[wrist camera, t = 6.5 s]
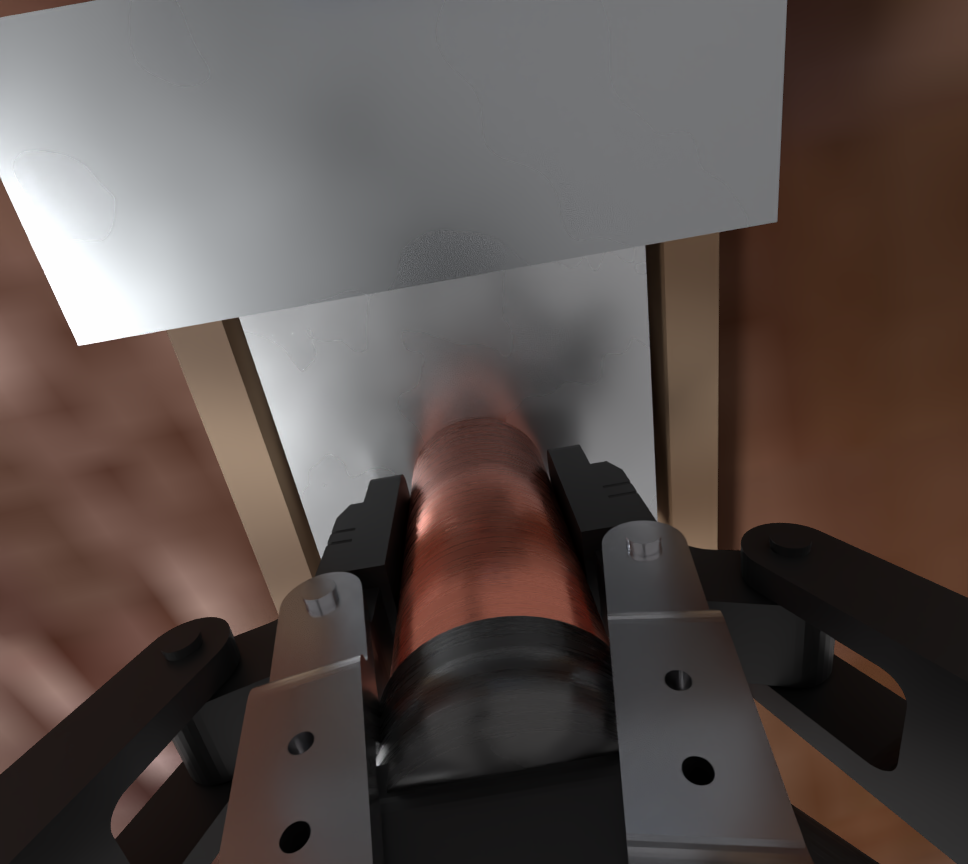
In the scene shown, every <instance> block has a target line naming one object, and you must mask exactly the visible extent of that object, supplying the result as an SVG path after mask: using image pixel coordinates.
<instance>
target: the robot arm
mask: <svg viewBox="0 0 968 864" xmlns="http://www.w3.org/2000/svg"><path fill="white" fill-rule="evenodd" d="M547 460H548V468H549V475H550V482H551V484H552V487H553V490H554V493H555V495H556V498H557V501H558V503H559V506H560V509H561V512H562V514H563V517H564V520H565V522H566V525H567V528H568V531H569V533H570V536H571V539H572V541H573V544H574V547H575V549H576V552H577V555H578V558H579V560H580V563H581V566H582V568H583V571H584V574H585V577H586V579H587V582H588V585H589V587H590V590H591V593H592V596H593V598H594V601H595V604H596V606H597V609H598V612H599V615H600V617H601V620H602V623H603V625H604V628H605V631H606V633H607V636H608V638H609V641H610V651H611V662H612V674H613V686H614V697H615V709H616V721H617V732H618V744H619V753H616V754H611V755H605V756H599V757H593V758H587V759H582V760H576V761H570V762H564V763H558V764H553V765H547V766H541V767H535V768H529V769H523V770H518V771H512V772H506V773H500V774H494V775H489V776H483V777H477V778H471V779H465V780H460V781H454V782H448V783H442V784H436V785H431V786H425V787H419V788H413V789H407V790H401V791H396V792H390V793H387V781H388V768H389V764H386V765H380V766H377V765H376V755H377V753H378V751H379V749H380V747H381V726H380V700H381V697H382V694H383V690H384V688H385V687H386V685H387V683H388V681H389V679H390V674H391V665H392V656H393V647H394V638H395V629H396V620H397V611H398V602H399V593H400V584H401V575H402V567H403V558H404V549H405V540H406V531H407V522H408V513H409V504H410V494H409V490H408V486H407V482H406V479H405V477H404V475H403V474H401V475H395V476H389V477H383V478H377V479H371V480H370V482H369V485H368V489H367V492H366V495H365V499H364V502H362V503H356V504H350V505H349V506H348V507H347V508H346V509H345V510H344V511H343V512H342V513H341V514H340V515H339V516H338V517H337V518H336V521H335V524H334V526H333V529H332V534H330V537H329V540H328V542H327V544H328V546H326V548H325V550H324V553H323V556H322V558H321V561H320V564H319V566H318V569H317V572H316V574H315V577H313V578H310V579H308V580H306V581H304V582H303V583H301V584H299V585H298V586H296V587H295V588H294V589H293V590H291V591H290V592H289V593H288V594H287V596H286V597H285V598H284V599H283V601H282V603H281V606H280V610H279V617H278V619H277V620H275V621H273V622H271V623H268V624H266V625H263V626H261V627H258V628H255V629H253V630H250V631H247V632H245V633H242V634H240V635H237V636H233V634H232V631H231V629H230V627H229V624H228V623H227V622H226V621H225V620H223V619H221V618H217V617H206V618H200V619H195V620H192V621H189V622H186V623H184V624H181V625H179V626H177V627H175V628H173V629H171V630H169V631H168V632H166V633H165V634H163V635H162V636H160V637H159V638H157V639H156V640H155V641H154V642H152V643H151V644H150V645H149V646H148V647H147V648H146V649H144V650H143V651H142V652H141V653H140V654H139V655H137V656H136V657H135V658H134V659H133V660H132V661H131V662H129V663H128V664H127V665H126V666H125V667H124V668H123V669H121V670H120V671H119V672H118V673H117V674H116V675H114V676H113V677H112V678H111V679H110V680H109V681H108V682H106V683H105V684H104V685H103V686H102V687H101V688H99V689H98V690H97V691H96V692H95V693H94V694H93V695H91V696H90V697H89V698H88V699H87V700H86V701H85V702H83V703H82V704H81V705H80V706H79V707H78V708H76V709H75V710H74V711H73V712H72V713H71V714H70V715H68V716H67V717H66V718H65V719H64V720H63V721H62V722H60V723H59V724H58V725H57V726H56V727H55V728H53V729H52V730H51V731H50V732H49V733H48V734H47V735H45V736H44V737H43V738H42V739H41V740H40V741H38V742H37V743H36V744H35V745H34V746H33V747H32V748H30V749H29V750H28V751H27V752H26V753H25V754H24V755H22V756H21V757H20V758H19V759H18V760H17V761H15V762H14V763H13V764H12V765H11V766H10V767H9V768H7V769H6V770H5V771H4V772H3V773H2V774H1V775H0V864H211V863H212V861H213V860H214V859H215V857H216V856H217V854H218V853H219V857H218V863H217V864H879V863H878V862H876V861H875V860H873V859H872V858H870V857H869V856H867V855H866V854H864V853H863V852H861V851H860V850H858V849H857V848H855V847H854V846H853V845H851V844H850V843H848V842H847V841H845V840H844V839H842V838H841V837H839V836H838V835H836V834H835V833H833V832H832V831H830V830H829V829H827V828H826V827H824V826H823V825H822V824H820V823H819V822H817V821H816V820H814V819H813V818H811V817H810V816H808V815H807V814H805V813H804V812H802V811H801V810H799V809H798V808H796V807H795V806H793V805H792V804H791V803H790V800H789V797H788V794H787V792H786V789H785V786H784V783H783V780H782V778H781V775H780V772H779V769H778V766H777V764H776V761H775V758H774V755H773V753H772V750H771V747H770V744H769V741H768V739H767V736H766V733H765V730H764V727H763V725H762V722H761V719H760V716H759V714H758V711H757V708H756V705H755V702H754V700H753V698H754V699H755V700H756V701H758V702H759V703H760V704H761V705H763V706H764V707H765V708H766V709H767V710H769V711H770V712H771V713H772V714H774V715H775V716H776V717H777V718H779V719H780V720H781V721H782V722H783V723H785V724H786V725H787V726H788V727H790V728H791V729H792V730H793V731H795V732H796V733H797V734H798V735H799V736H801V737H802V738H803V739H804V740H806V741H807V742H808V743H809V744H810V745H812V746H813V747H814V748H815V749H817V750H818V751H819V752H820V753H822V754H823V755H824V756H825V757H826V758H828V759H829V760H830V761H831V762H833V763H834V764H835V765H836V766H838V767H839V768H840V769H841V770H842V771H844V772H845V773H846V774H847V775H849V776H850V777H851V778H852V779H854V780H855V781H856V782H857V783H858V784H860V785H861V786H862V787H863V788H865V789H866V790H867V791H868V792H869V793H871V794H872V795H873V796H874V797H876V798H877V799H878V800H879V801H881V802H882V803H883V804H884V805H885V806H887V807H888V808H889V809H890V810H892V811H893V812H894V813H895V814H897V815H898V816H899V817H900V818H901V819H903V820H904V821H905V822H906V823H908V824H909V825H910V826H911V827H913V828H914V829H915V830H916V831H917V832H919V833H920V834H921V835H922V836H924V837H925V838H926V839H927V840H928V841H930V842H931V843H932V844H933V845H935V846H936V847H937V848H938V849H940V850H941V851H942V852H943V853H944V854H946V855H947V856H948V857H949V858H951V859H952V860H953V861H954V862H956V863H957V864H968V598H967V597H965V596H963V595H960V594H958V593H956V592H954V591H952V590H949V589H947V588H945V587H943V586H940V585H938V584H936V583H934V582H932V581H929V580H927V579H925V578H923V577H921V576H918V575H916V574H914V573H912V572H909V571H907V570H905V569H903V568H901V567H898V566H896V565H894V564H892V563H890V562H887V561H885V560H883V559H881V558H879V557H876V556H874V555H872V554H870V553H867V552H865V551H863V550H861V549H859V548H856V547H854V546H852V545H850V544H848V543H845V542H843V541H841V540H839V539H836V538H834V537H832V536H830V535H828V534H825V533H823V532H821V531H819V530H816V529H813V528H810V527H807V526H803V525H798V524H791V523H770V524H764V525H760V526H757V527H754V528H752V529H750V530H749V531H747V532H746V533H745V534H744V536H743V537H742V540H741V551H739V550H711V549H701V548H696V547H692V546H688V543H687V540H686V538H685V536H684V535H683V534H682V533H681V532H680V531H679V530H678V529H676V528H674V527H672V526H670V525H668V524H665V523H661V522H657V521H656V519H655V518H654V516H653V515H652V513H651V512H650V510H649V509H648V507H647V506H646V504H645V503H644V501H643V500H642V498H641V497H640V495H639V494H638V493H637V491H636V489H635V488H634V486H633V485H632V484H631V483H630V480H629V478H628V477H627V475H626V474H625V472H624V471H623V469H621V468H619V467H617V466H615V465H613V464H611V463H609V462H608V461H604V462H598V463H592V464H590V462H589V461H588V459H587V457H586V455H585V453H584V451H583V450H582V448H581V446H580V445H579V444H578V445H572V446H566V447H560V448H554V449H548V450H547ZM835 640H837V641H838V642H840V643H842V644H843V645H845V646H847V647H848V648H850V649H851V650H853V651H855V652H856V653H858V654H860V655H861V656H863V657H865V658H866V659H868V660H869V661H871V662H873V663H874V664H876V665H878V666H879V667H881V668H882V669H884V670H885V671H886V672H887V673H889V674H890V675H891V676H892V677H893V678H894V679H895V681H896V682H897V683H898V684H899V686H900V687H901V689H902V691H903V693H904V695H905V697H906V700H905V699H903V698H901V697H900V696H898V695H897V694H895V693H894V692H892V691H891V690H889V689H887V688H886V687H884V686H883V685H881V684H880V683H878V682H876V681H875V680H873V679H872V678H870V677H869V676H867V675H865V674H864V673H862V672H861V671H859V670H858V669H856V668H855V667H853V666H851V665H850V664H848V663H847V662H845V661H844V660H842V659H840V658H839V657H837V656H836V655H834V644H835ZM171 740H172V741H173V743H174V745H175V747H176V749H177V751H178V753H179V755H180V756H181V758H182V760H183V762H182V763H181V764H180V765H179V766H178V768H177V769H176V770H175V771H174V772H173V773H172V775H171V776H170V777H169V778H168V779H167V780H166V781H165V783H164V784H163V785H162V786H161V787H160V788H159V789H158V791H157V792H156V793H155V794H154V795H153V796H152V798H151V799H150V800H149V801H148V802H147V803H146V804H145V806H144V807H143V808H142V809H141V810H140V811H139V813H138V814H137V815H136V816H135V817H134V818H133V819H132V821H131V822H130V823H129V824H128V825H127V826H126V827H125V829H124V830H123V831H122V832H121V833H120V834H119V836H118V837H117V838H116V839H114V837H113V835H112V833H111V817H112V814H113V811H114V808H115V806H116V804H117V802H118V800H119V799H120V797H121V796H122V794H123V793H124V792H125V791H126V789H127V788H128V787H129V786H130V785H131V784H132V783H133V782H134V781H135V780H136V778H137V777H138V776H139V775H140V774H141V773H142V772H143V771H144V770H145V769H146V768H147V766H148V765H149V764H150V763H151V762H152V761H153V760H154V759H155V758H156V757H157V756H158V755H159V753H160V752H161V751H162V750H163V749H164V748H165V747H166V746H167V745H168V744H169V743H170V742H171ZM219 851H220V852H219Z"/></svg>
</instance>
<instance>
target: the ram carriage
mask: <svg viewBox="0 0 968 864" xmlns="http://www.w3.org/2000/svg"><path fill="white" fill-rule="evenodd" d="M786 15H787V0H96V1H90V2H85V3H79V4H74V5H68V6H63V7H57V8H51V9H46V10H40V11H35V12H29V13H24V14H18V15H12V16H7V17H1V18H0V177H1V180H2V182H3V184H4V186H5V188H6V190H7V193H8V195H9V197H10V199H11V201H12V203H13V205H14V208H15V210H16V212H17V214H18V216H19V218H20V221H21V223H22V225H23V227H24V229H25V231H26V233H27V236H28V238H29V240H30V242H31V244H32V246H33V249H34V251H35V253H36V255H37V257H38V259H39V261H40V264H41V266H42V268H43V270H44V272H45V274H46V277H47V279H48V281H49V283H50V285H51V287H52V289H53V292H54V294H55V296H56V298H57V300H58V302H59V305H60V307H61V309H62V311H63V313H64V315H65V317H66V320H67V322H68V324H69V326H70V328H71V330H72V333H73V335H74V337H75V339H76V341H77V343H78V345H85V344H90V343H96V342H102V341H107V340H113V339H119V338H124V337H130V336H135V335H141V334H147V333H152V332H158V331H164V330H169V329H175V328H181V327H186V326H192V325H198V324H203V323H209V322H215V321H220V320H226V319H231V318H237V317H239V319H240V322H241V325H242V328H243V331H244V334H245V337H246V340H247V343H248V346H249V349H250V351H251V354H252V357H253V360H254V363H255V366H256V369H257V372H258V375H259V378H260V381H261V384H262V387H263V390H264V393H265V396H266V399H267V402H268V404H269V407H270V410H271V413H272V416H273V419H274V422H275V425H276V428H277V431H278V434H279V437H280V440H281V443H282V446H283V449H284V452H285V455H286V458H287V460H288V463H289V466H290V469H291V472H292V475H293V478H294V481H295V484H296V487H297V490H298V493H299V496H300V499H301V502H302V505H303V508H304V511H305V514H306V516H307V519H308V522H309V525H310V528H311V531H312V534H313V537H314V540H315V543H316V546H317V549H318V552H319V555H320V558H322V556H323V553H324V550H325V548H326V546H328V544H327V542H328V540H329V537H330V534H332V529H333V526H334V524H335V521H336V518H337V517H338V516H339V515H340V514H341V513H342V512H343V511H344V510H345V509H346V508H347V507H348V506H349V505H350V504H356V503H362V502H364V499H365V495H366V492H367V489H368V485H369V482H370V480H371V479H377V478H383V477H389V476H395V475H401V474H403V475H404V477H405V479H406V482H407V486H408V490H409V494H410V504H409V513H408V522H407V531H406V540H405V549H404V558H403V567H402V575H401V584H400V593H399V602H398V611H397V620H396V629H395V638H394V647H393V656H392V665H391V674H390V679H389V681H388V683H387V685H386V687H385V688H384V690H383V694H382V697H381V700H380V726H381V747H380V749H379V751H378V753H377V755H376V765H377V766H380V765H386V764H389V768H388V781H387V793H390V792H396V791H401V790H407V789H413V788H419V787H425V786H431V785H436V784H442V783H448V782H454V781H460V780H465V779H471V778H477V777H483V776H489V775H494V774H500V773H506V772H512V771H518V770H523V769H529V768H535V767H541V766H547V765H553V764H558V763H564V762H570V761H576V760H582V759H587V758H593V757H599V756H605V755H611V754H616V753H619V744H618V732H617V721H616V709H615V697H614V686H613V674H612V662H611V651H610V642H609V639H608V636H607V633H606V631H605V628H604V625H603V623H602V620H601V617H600V615H599V612H598V609H597V606H596V604H595V601H594V598H593V596H592V593H591V590H590V587H589V585H588V582H587V579H586V577H585V574H584V571H583V568H582V566H581V563H580V560H579V558H578V555H577V552H576V549H575V547H574V544H573V541H572V539H571V536H570V533H569V531H568V528H567V525H566V522H565V520H564V517H563V514H562V512H561V509H560V506H559V503H558V501H557V498H556V495H555V493H554V490H553V487H552V484H551V482H550V475H549V468H548V460H547V450H548V449H554V448H560V447H566V446H572V445H578V444H579V445H580V446H581V448H582V450H583V451H584V453H585V455H586V457H587V459H588V461H589V462H590V464H592V463H598V462H604V461H608V462H609V463H611V464H613V465H615V466H617V467H619V468H621V469H623V471H624V472H625V474H626V475H627V477H628V478H629V480H630V483H631V484H632V485H633V486H634V488H635V489H636V491H637V493H638V494H639V495H640V497H641V498H642V500H643V501H644V503H645V504H646V506H647V507H648V509H649V510H650V512H651V513H652V515H653V516H654V518H655V519H656V521H657V522H658V520H657V497H656V475H655V453H654V430H653V408H652V386H651V363H650V341H649V319H648V296H647V274H646V252H645V245H649V244H655V243H661V242H666V241H672V240H677V239H683V238H689V237H694V236H700V235H706V234H711V233H717V232H723V231H728V230H734V229H740V228H745V227H751V226H757V225H762V224H768V223H773V222H777V216H778V193H779V171H780V149H781V126H782V104H783V82H784V59H785V37H786Z"/></svg>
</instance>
